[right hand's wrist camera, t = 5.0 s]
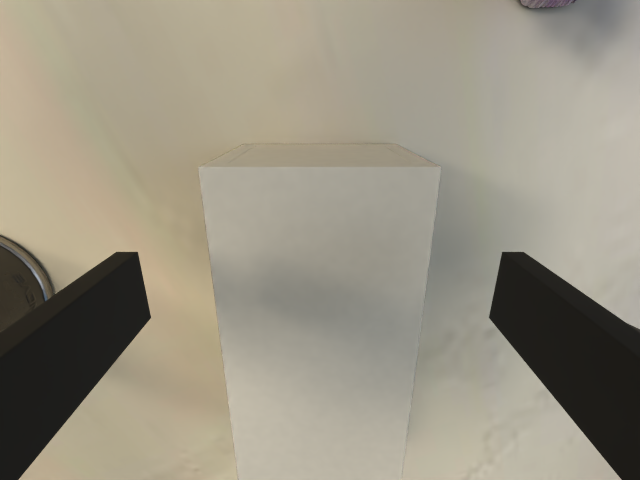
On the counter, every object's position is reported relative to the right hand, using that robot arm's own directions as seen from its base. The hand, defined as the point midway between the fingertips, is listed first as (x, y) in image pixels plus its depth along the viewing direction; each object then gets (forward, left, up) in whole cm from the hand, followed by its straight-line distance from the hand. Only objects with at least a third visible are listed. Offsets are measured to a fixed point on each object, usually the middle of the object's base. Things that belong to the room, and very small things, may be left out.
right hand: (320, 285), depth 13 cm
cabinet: (+4, -6, -13) cm, 15 cm away
